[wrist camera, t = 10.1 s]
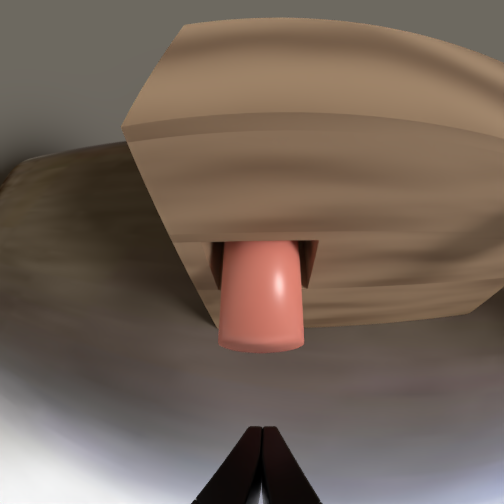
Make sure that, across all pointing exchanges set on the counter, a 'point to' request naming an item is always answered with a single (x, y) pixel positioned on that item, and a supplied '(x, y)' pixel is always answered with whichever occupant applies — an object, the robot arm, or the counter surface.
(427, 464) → the counter surface
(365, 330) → the counter surface
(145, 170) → the wooden block
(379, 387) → the counter surface
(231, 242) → the salmon pink cylinder
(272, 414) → the counter surface
